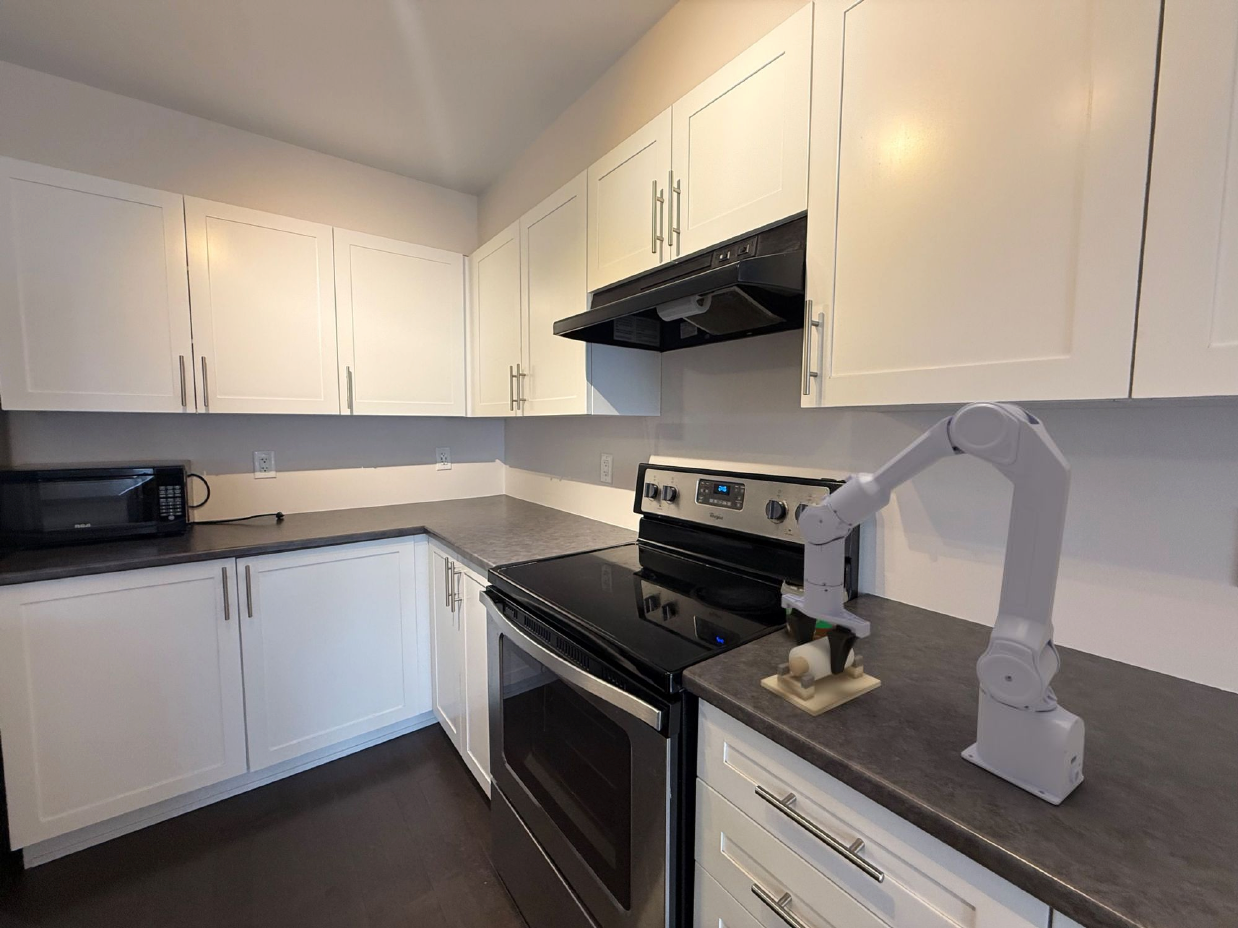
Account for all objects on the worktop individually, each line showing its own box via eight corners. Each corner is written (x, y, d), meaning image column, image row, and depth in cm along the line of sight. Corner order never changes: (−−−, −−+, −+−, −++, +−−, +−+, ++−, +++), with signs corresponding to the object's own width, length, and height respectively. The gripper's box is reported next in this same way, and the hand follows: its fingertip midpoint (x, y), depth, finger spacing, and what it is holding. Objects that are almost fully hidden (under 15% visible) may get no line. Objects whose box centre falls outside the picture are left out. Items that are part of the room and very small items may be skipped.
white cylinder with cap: (860, 669, 79) (861, 638, 79) (809, 691, 73) (809, 657, 73) (831, 657, 84) (832, 627, 83) (781, 676, 77) (781, 644, 77)
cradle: (880, 685, 78) (881, 661, 78) (814, 716, 70) (815, 689, 70) (825, 660, 87) (826, 637, 87) (760, 684, 79) (761, 660, 78)
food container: (774, 639, 96) (775, 588, 95) (780, 627, 101) (781, 579, 100) (844, 652, 90) (846, 598, 89) (846, 639, 95) (848, 588, 95)
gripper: (883, 589, 73) (880, 677, 74) (802, 565, 85) (800, 641, 87) (854, 597, 69) (851, 690, 70) (773, 571, 82) (772, 651, 83)
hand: (821, 664), depth 78 cm, fingers closed on white cylinder with cap, 5 cm apart
